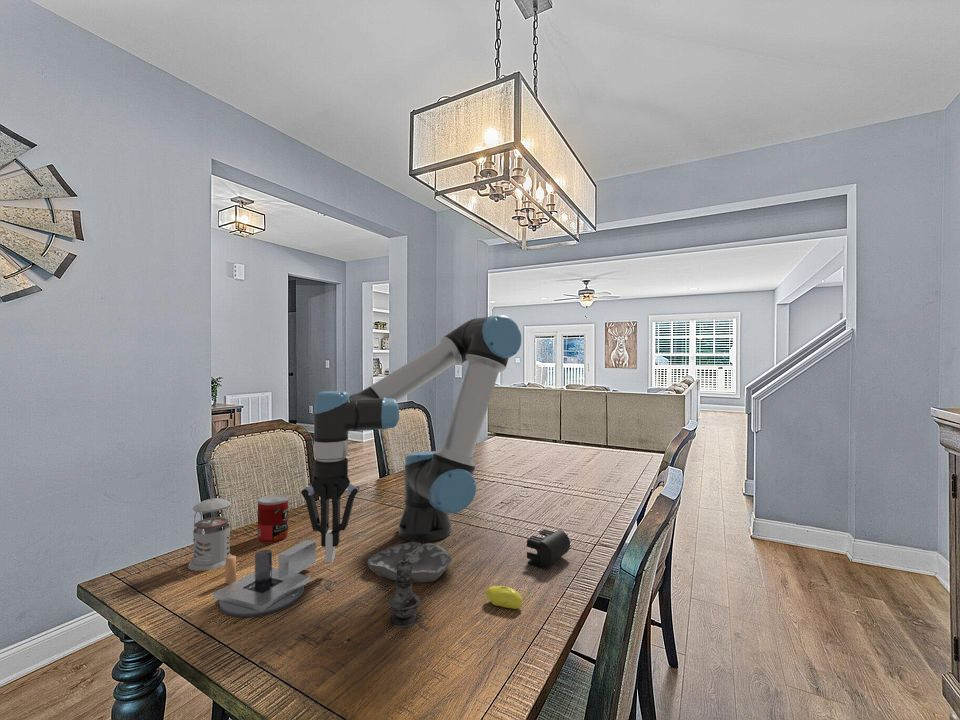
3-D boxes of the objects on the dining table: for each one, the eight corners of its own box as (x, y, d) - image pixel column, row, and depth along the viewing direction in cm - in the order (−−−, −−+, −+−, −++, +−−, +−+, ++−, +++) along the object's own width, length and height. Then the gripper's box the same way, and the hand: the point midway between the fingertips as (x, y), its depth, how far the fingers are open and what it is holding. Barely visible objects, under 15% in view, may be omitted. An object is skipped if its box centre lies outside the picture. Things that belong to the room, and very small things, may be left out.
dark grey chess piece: (390, 611, 89) (390, 550, 89) (420, 610, 90) (420, 549, 90) (386, 629, 83) (387, 564, 83) (418, 627, 84) (419, 563, 84)
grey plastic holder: (261, 611, 86) (261, 585, 86) (212, 598, 91) (213, 573, 91) (332, 566, 106) (333, 544, 106) (289, 557, 110) (289, 536, 110)
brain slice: (460, 557, 115) (460, 545, 115) (441, 590, 98) (441, 577, 98) (387, 550, 119) (388, 538, 119) (357, 581, 102) (357, 568, 102)
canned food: (277, 544, 121) (277, 503, 121) (250, 541, 123) (251, 501, 123) (294, 533, 129) (294, 495, 129) (269, 531, 130) (269, 493, 130)
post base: (318, 581, 101) (318, 541, 101) (272, 621, 85) (272, 574, 85) (255, 574, 104) (255, 535, 104) (200, 612, 89) (200, 566, 89)
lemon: (517, 616, 88) (517, 596, 88) (481, 605, 92) (481, 586, 92) (525, 606, 92) (526, 586, 92) (490, 595, 96) (491, 577, 96)
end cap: (551, 573, 106) (551, 544, 106) (525, 565, 110) (525, 537, 110) (570, 558, 114) (570, 532, 114) (545, 551, 118) (545, 525, 118)
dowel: (237, 580, 101) (238, 556, 101) (231, 584, 99) (231, 559, 99) (230, 579, 102) (230, 555, 102) (223, 583, 100) (223, 559, 100)
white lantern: (200, 574, 104) (201, 466, 104) (176, 562, 110) (176, 460, 110) (242, 558, 112) (243, 458, 112) (217, 548, 119) (217, 453, 119)
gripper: (362, 454, 109) (361, 552, 109) (307, 455, 108) (306, 553, 108) (356, 461, 101) (355, 566, 101) (296, 462, 100) (295, 568, 100)
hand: (330, 560), depth 104 cm, fingers closed
